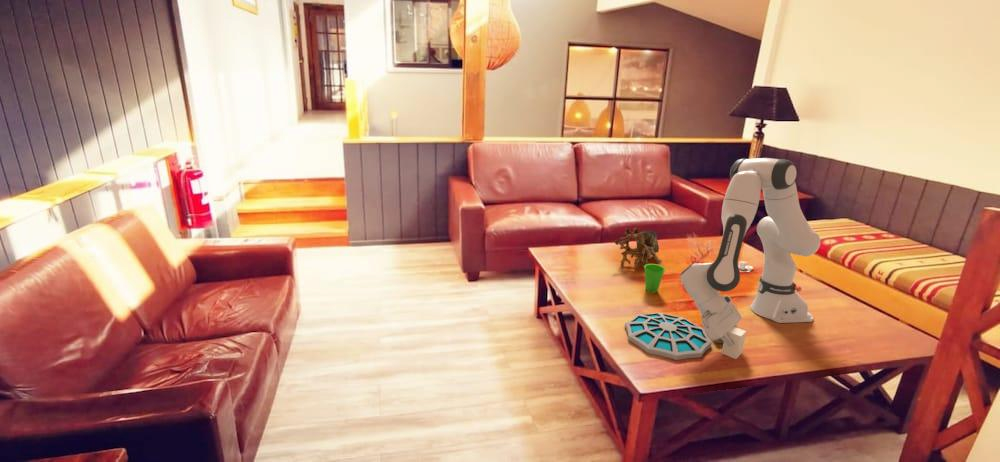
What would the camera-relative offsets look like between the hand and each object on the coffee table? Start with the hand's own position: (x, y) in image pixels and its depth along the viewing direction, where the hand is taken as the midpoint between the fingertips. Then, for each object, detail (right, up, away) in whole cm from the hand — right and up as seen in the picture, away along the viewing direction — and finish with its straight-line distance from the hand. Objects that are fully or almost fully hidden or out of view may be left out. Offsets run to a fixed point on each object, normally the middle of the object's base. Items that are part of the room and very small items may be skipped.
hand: (735, 341), depth 168 cm
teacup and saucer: (+40, +18, +72) cm, 84 cm away
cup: (-14, +12, +49) cm, 52 cm away
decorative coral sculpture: (-13, +23, +80) cm, 84 cm away
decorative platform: (-20, -1, +12) cm, 23 cm away
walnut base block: (0, -1, +12) cm, 12 cm away
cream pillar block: (-1, -5, +2) cm, 5 cm away
